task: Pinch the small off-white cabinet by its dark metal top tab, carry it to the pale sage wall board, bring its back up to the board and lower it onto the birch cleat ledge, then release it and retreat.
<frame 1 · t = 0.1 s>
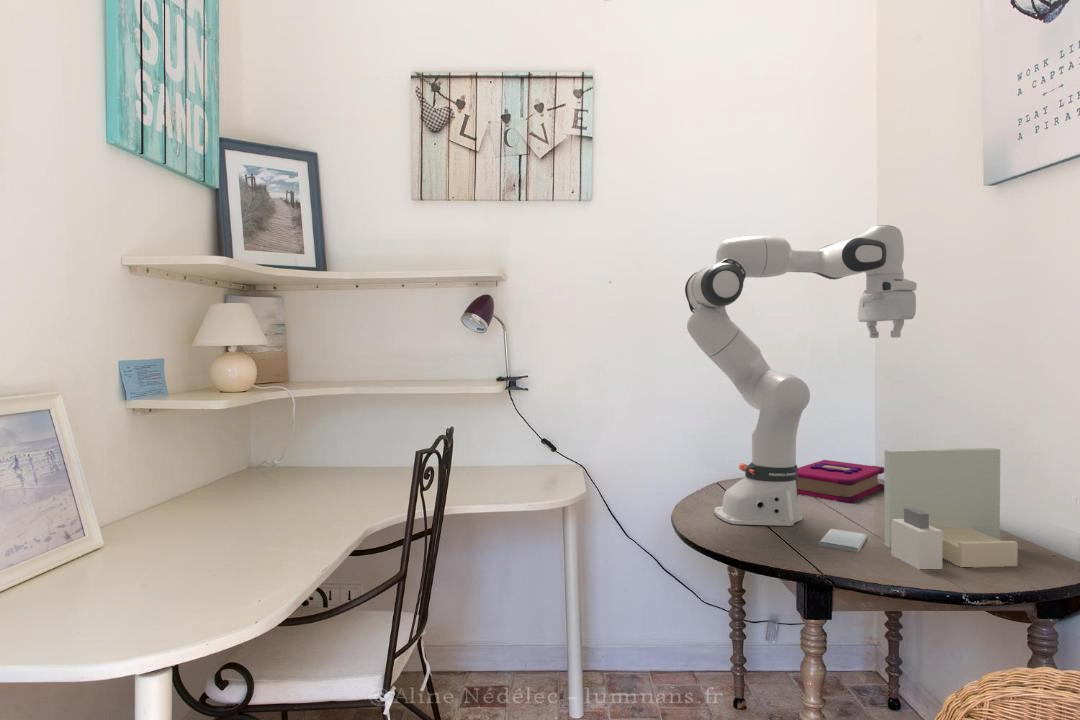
hand: (884, 337, 165), 48 cm above the table, fingers open, 8 cm apart
book: (834, 491, 194), on the table
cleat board: (964, 555, 133), on the table
hard drive: (843, 545, 143), on the table
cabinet: (916, 562, 130), on the table
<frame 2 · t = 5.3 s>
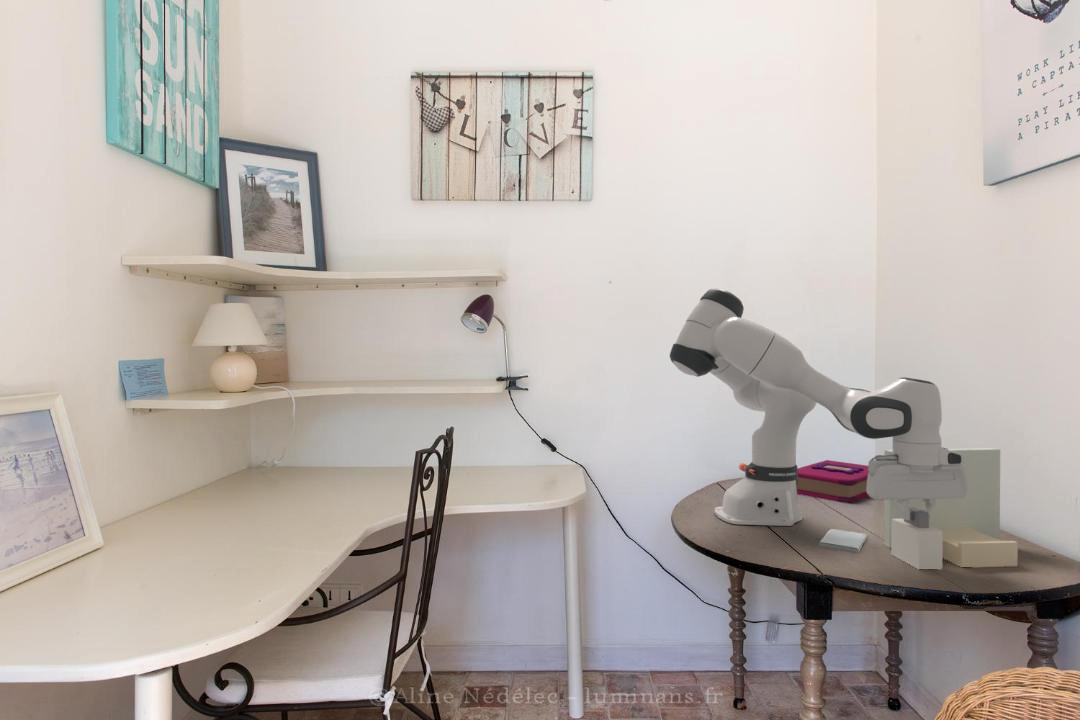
hand: (916, 519, 130), 9 cm above the table, fingers closed on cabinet
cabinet: (915, 561, 130), on the table, touching gripper
everything else where it was.
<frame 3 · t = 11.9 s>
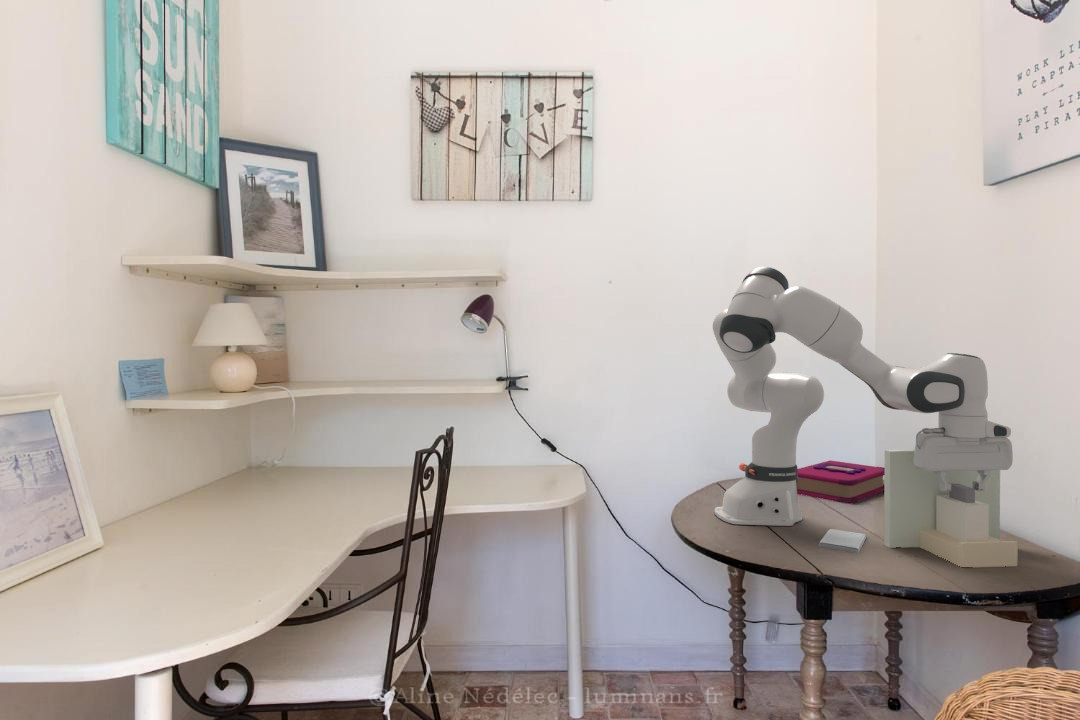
hand: (961, 490, 134), 14 cm above the table, fingers open, 6 cm apart
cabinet: (961, 536, 134), point 4 cm above the table, touching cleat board
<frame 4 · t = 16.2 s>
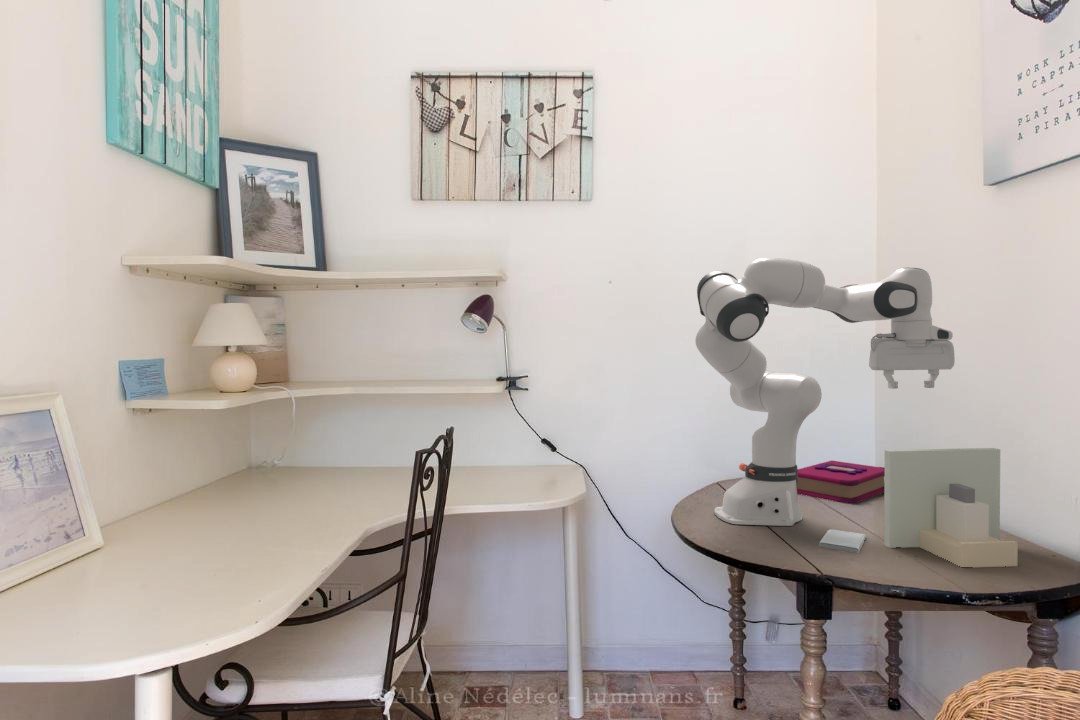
hand: (911, 388, 154), 35 cm above the table, fingers open, 8 cm apart
at the end: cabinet inside the target area on the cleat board (0.6 cm from its centre), point 4.0 cm above the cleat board's base; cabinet tilted 0°; the gripper is holding nothing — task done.
